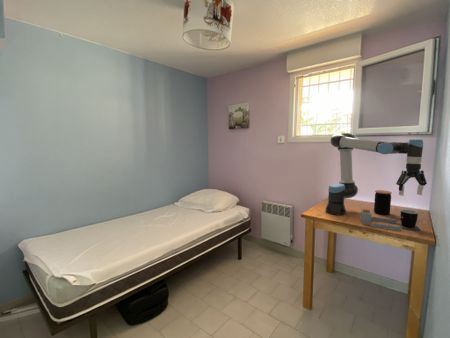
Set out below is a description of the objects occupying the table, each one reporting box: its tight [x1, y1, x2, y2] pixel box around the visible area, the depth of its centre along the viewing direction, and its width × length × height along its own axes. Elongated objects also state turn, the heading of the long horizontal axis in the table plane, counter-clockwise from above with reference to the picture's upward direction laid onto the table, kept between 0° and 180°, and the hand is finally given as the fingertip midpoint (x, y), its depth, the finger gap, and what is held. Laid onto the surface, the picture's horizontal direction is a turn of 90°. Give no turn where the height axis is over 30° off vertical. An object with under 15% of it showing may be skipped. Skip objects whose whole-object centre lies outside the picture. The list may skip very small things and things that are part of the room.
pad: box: [398, 222, 422, 232], centre depth 151 cm, size 10×10×1 cm
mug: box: [400, 209, 419, 228], centre depth 150 cm, size 12×9×10 cm
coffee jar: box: [373, 189, 392, 216], centre depth 180 cm, size 11×11×18 cm
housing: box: [359, 208, 403, 232], centre depth 157 cm, size 22×16×8 cm
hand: (410, 195), depth 150 cm, fingers open, 13 cm apart
